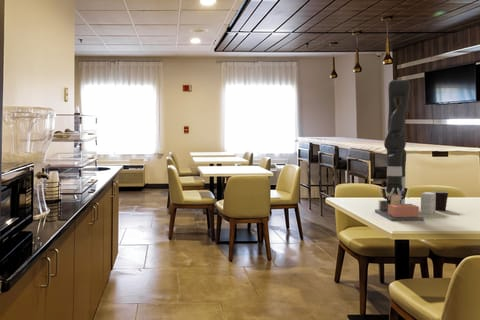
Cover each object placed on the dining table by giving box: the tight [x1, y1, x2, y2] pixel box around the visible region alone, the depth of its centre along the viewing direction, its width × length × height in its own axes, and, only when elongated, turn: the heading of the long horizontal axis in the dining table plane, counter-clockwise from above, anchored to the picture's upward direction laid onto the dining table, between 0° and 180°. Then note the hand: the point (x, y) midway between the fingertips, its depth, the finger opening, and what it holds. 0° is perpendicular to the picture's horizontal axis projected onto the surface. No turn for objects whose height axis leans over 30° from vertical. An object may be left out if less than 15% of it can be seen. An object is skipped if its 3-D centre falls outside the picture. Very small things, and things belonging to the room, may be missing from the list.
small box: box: [420, 191, 436, 215], centre depth 235 cm, size 8×6×10 cm
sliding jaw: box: [388, 203, 420, 217], centre depth 219 cm, size 9×12×5 cm
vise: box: [374, 199, 425, 222], centre depth 225 cm, size 24×16×6 cm
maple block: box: [390, 194, 400, 204], centre depth 230 cm, size 5×4×8 cm
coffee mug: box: [431, 190, 449, 212], centre depth 243 cm, size 12×9×10 cm
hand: (393, 206), depth 231 cm, fingers closed on maple block, 4 cm apart
